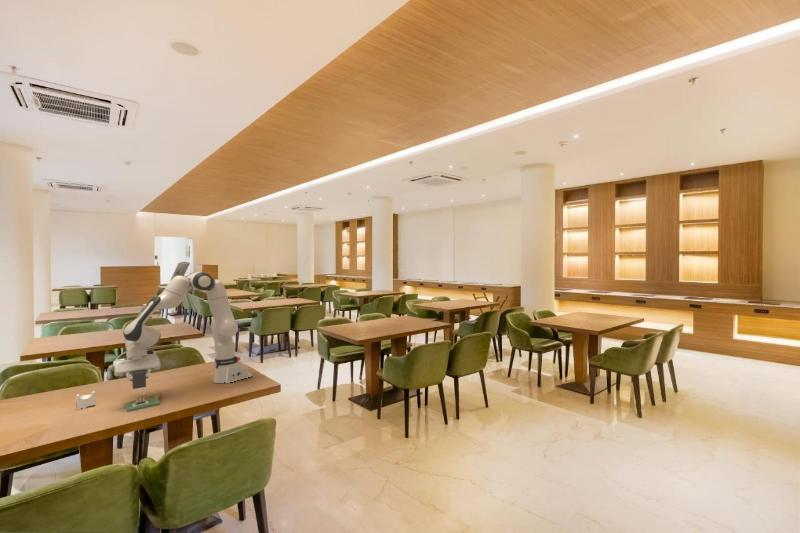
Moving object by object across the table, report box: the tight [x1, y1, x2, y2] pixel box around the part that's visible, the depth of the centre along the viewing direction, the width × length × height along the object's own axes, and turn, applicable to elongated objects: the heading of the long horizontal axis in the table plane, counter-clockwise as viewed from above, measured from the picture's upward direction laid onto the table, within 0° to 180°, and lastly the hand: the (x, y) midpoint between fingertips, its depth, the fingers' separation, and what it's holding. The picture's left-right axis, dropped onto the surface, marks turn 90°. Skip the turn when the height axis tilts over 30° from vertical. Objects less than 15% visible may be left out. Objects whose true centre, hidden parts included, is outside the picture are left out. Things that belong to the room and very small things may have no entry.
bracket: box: [76, 390, 96, 410], centre depth 202 cm, size 13×7×8 cm, turn 42°
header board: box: [125, 396, 161, 413], centre depth 200 cm, size 14×11×4 cm
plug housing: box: [131, 370, 147, 390], centre depth 198 cm, size 6×4×8 cm, turn 130°
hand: (139, 379), depth 198 cm, fingers closed on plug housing, 6 cm apart
